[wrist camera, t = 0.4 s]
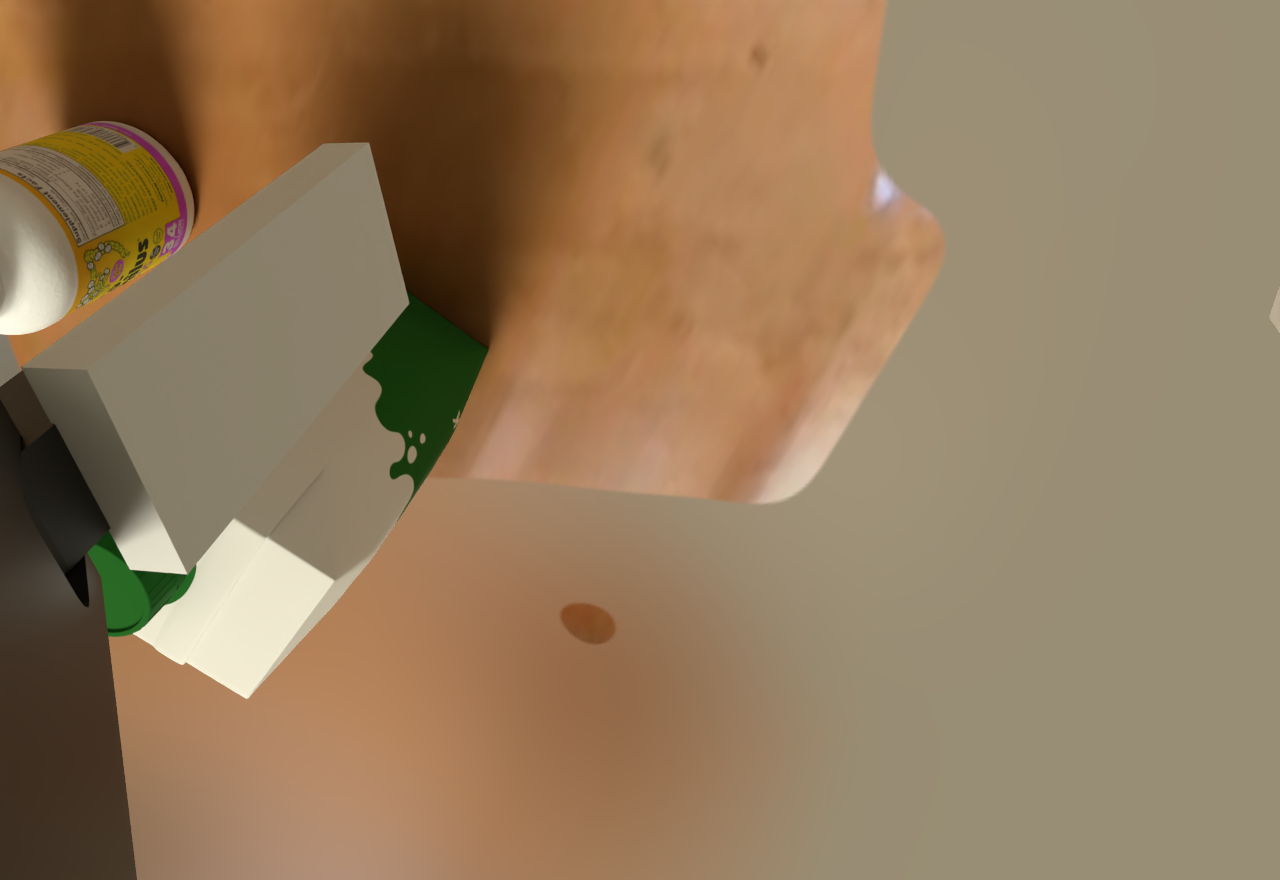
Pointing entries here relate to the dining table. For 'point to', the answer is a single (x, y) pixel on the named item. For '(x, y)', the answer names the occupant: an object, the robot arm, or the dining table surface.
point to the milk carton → (306, 513)
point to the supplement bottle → (84, 219)
